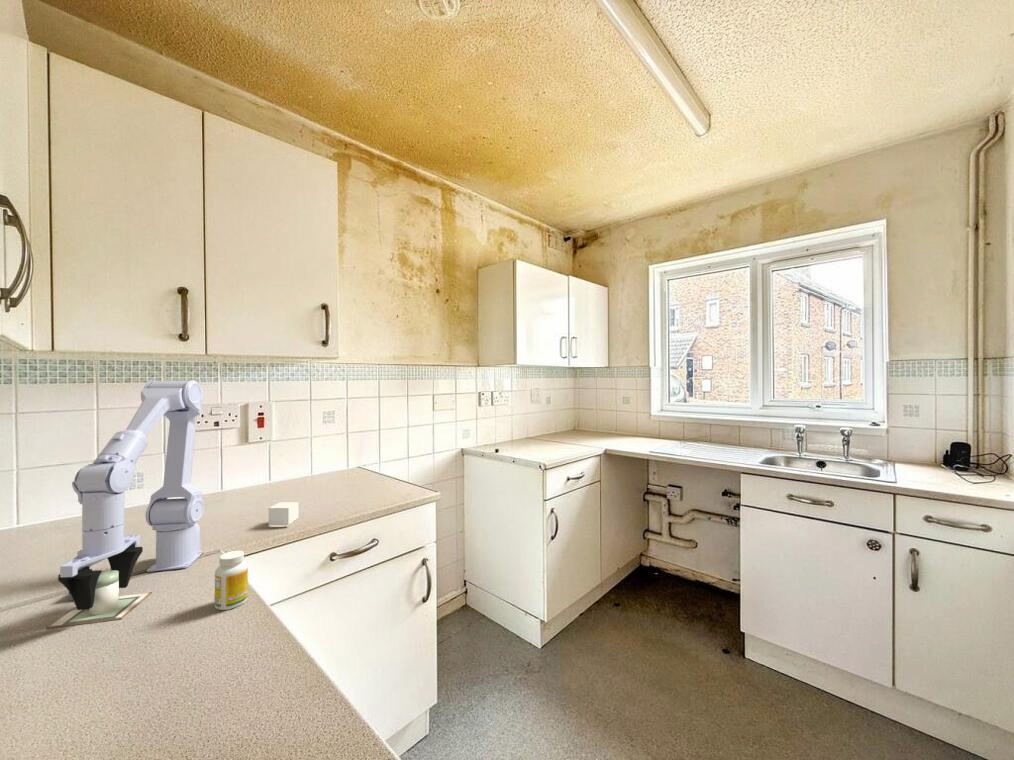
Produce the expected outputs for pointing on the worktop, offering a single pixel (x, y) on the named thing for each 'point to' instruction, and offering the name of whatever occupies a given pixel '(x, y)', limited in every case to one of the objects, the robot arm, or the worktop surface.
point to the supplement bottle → (231, 581)
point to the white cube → (283, 513)
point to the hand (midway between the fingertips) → (103, 597)
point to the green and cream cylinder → (106, 593)
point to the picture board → (84, 617)
